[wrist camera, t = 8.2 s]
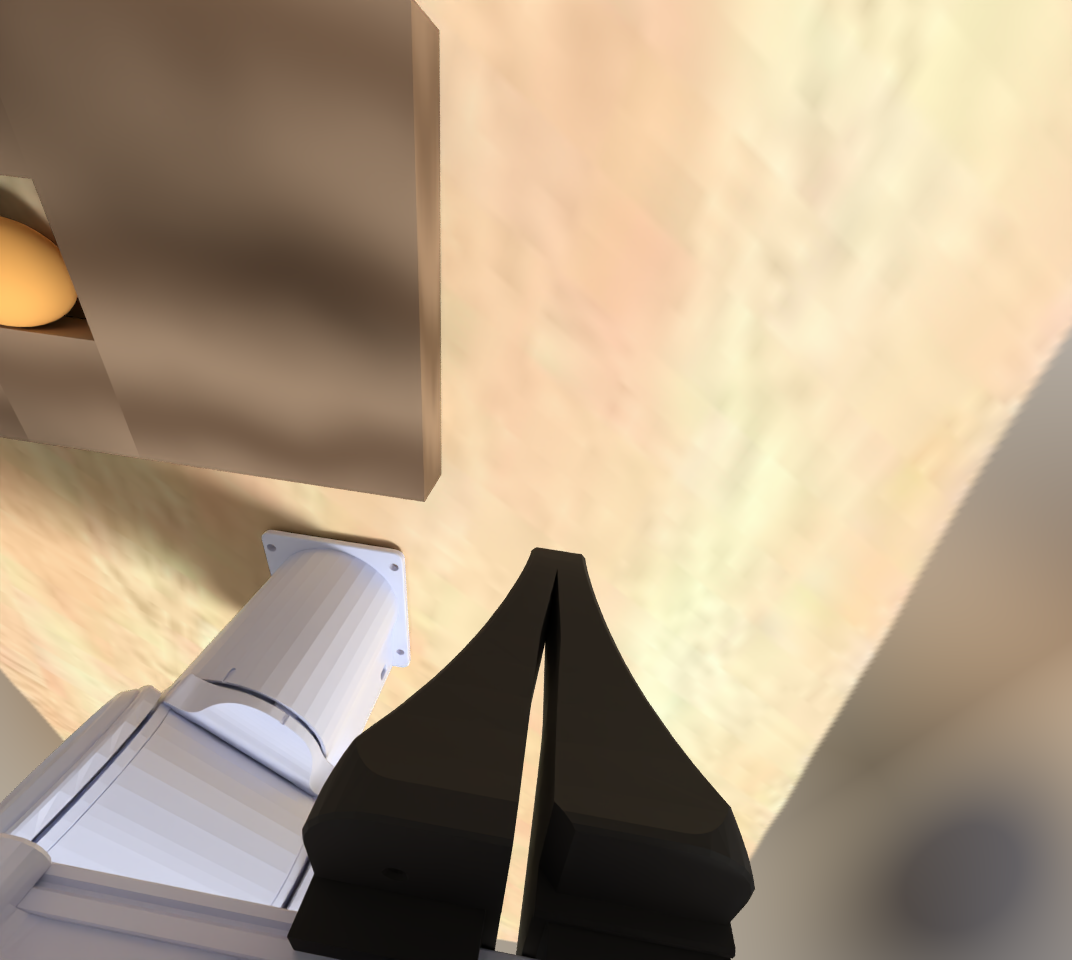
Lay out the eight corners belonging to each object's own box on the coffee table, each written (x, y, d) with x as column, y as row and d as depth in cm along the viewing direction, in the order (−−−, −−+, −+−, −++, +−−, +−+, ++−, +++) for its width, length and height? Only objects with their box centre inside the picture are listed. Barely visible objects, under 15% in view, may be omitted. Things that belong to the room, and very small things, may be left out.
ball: (124, 303, 20) (50, 348, 17) (38, 298, 20) (-49, 342, 18) (58, 201, 17) (-42, 236, 15) (-41, 197, 18) (-159, 230, 15)
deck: (441, 474, 22) (424, 501, 20) (22, 411, 23) (-37, 431, 21) (439, 30, 14) (410, -5, 12) (-204, -34, 15) (-338, -77, 13)
